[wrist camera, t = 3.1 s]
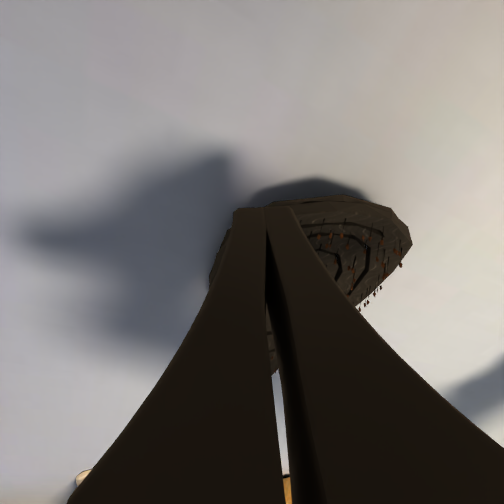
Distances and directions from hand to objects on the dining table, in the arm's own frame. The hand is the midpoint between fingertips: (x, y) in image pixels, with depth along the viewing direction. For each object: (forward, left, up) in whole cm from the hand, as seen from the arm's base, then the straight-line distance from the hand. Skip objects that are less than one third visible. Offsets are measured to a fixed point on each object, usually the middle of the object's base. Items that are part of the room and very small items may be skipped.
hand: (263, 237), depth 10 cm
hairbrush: (0, +14, -7) cm, 15 cm away
